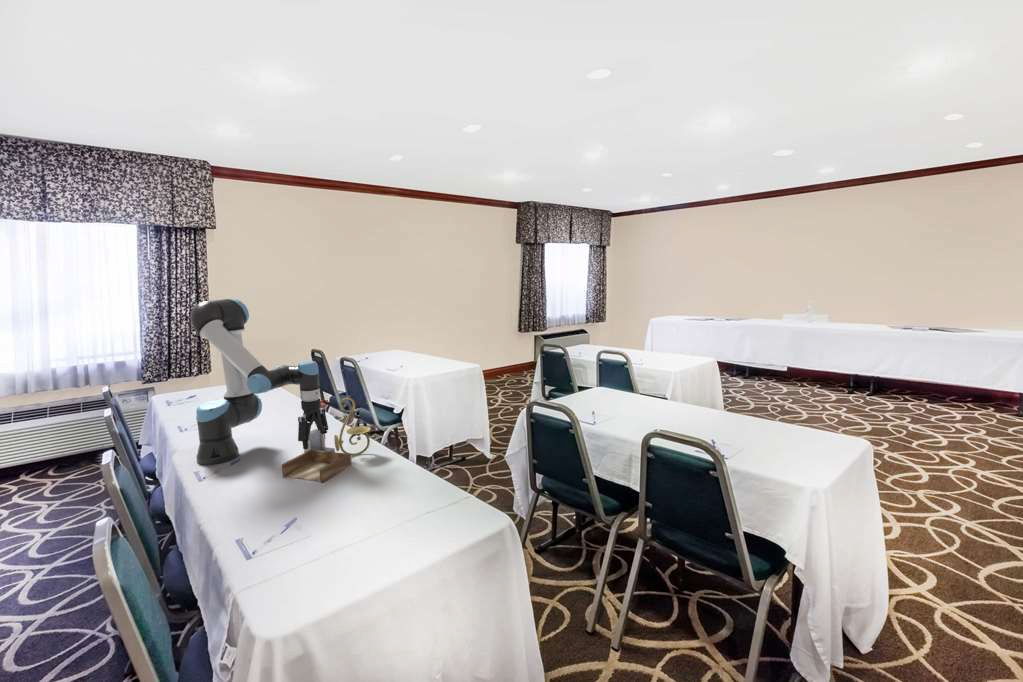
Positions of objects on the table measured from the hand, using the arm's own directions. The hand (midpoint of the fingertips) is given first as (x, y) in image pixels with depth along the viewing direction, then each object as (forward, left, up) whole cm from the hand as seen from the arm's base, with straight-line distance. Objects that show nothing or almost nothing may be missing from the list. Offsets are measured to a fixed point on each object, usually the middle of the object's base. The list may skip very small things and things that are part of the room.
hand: (315, 452), depth 208 cm
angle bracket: (+2, 0, -1) cm, 3 cm away
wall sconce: (+16, +4, -1) cm, 17 cm away
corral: (+12, -14, -1) cm, 19 cm away
